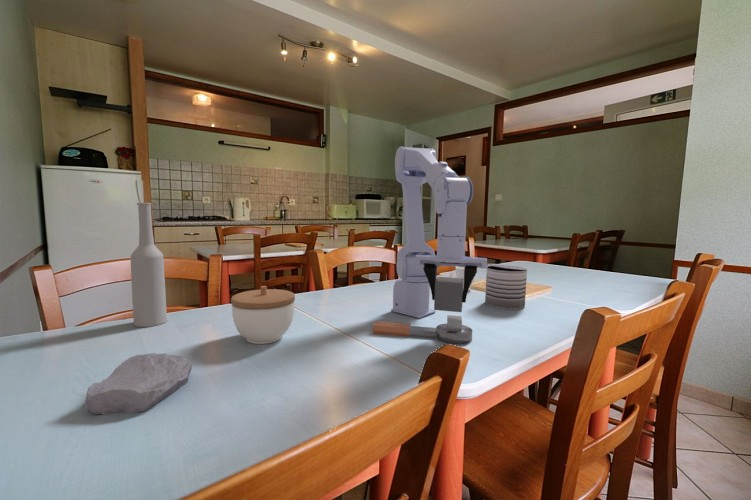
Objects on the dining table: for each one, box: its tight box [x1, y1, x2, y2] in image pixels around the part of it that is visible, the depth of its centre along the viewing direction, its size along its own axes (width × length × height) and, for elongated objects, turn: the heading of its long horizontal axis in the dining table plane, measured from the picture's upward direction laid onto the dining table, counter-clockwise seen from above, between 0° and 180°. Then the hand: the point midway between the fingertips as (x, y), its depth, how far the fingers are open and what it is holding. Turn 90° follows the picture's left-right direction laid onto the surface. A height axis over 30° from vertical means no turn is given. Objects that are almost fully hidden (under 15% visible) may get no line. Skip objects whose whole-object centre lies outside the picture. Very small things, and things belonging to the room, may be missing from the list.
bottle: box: [129, 202, 168, 328], centre depth 81 cm, size 7×7×28 cm
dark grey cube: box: [433, 276, 463, 313], centre depth 74 cm, size 6×6×6 cm
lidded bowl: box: [230, 285, 296, 345], centre depth 73 cm, size 13×13×11 cm
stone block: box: [85, 352, 193, 415], centre depth 51 cm, size 12×5×10 cm
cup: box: [448, 266, 475, 292], centre depth 123 cm, size 7×10×8 cm
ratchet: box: [372, 314, 473, 345], centre depth 76 cm, size 21×8×4 cm, turn 78°
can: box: [484, 263, 528, 310], centre depth 104 cm, size 11×11×12 cm
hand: (448, 300), depth 74 cm, fingers closed on dark grey cube, 5 cm apart
